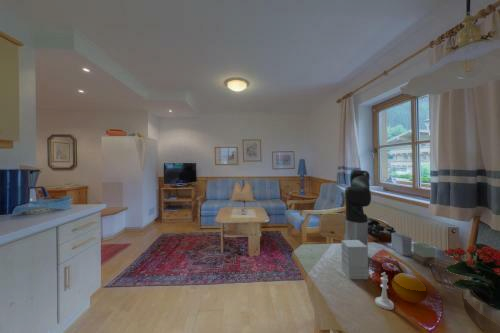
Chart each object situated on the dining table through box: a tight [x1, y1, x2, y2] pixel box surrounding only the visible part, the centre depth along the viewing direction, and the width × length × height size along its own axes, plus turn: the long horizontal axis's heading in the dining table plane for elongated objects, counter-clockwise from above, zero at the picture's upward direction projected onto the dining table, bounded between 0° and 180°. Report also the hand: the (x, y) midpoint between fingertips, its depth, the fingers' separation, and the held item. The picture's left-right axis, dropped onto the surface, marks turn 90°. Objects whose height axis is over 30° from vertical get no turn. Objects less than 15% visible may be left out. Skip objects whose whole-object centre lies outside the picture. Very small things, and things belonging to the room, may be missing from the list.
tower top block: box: [413, 242, 436, 258], centre depth 88 cm, size 5×5×4 cm
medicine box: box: [390, 232, 413, 257], centre depth 99 cm, size 8×4×9 cm, turn 179°
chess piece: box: [374, 271, 395, 310], centre depth 63 cm, size 5×5×10 cm
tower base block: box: [413, 251, 436, 267], centre depth 88 cm, size 5×5×4 cm
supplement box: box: [340, 239, 369, 280], centre depth 80 cm, size 7×7×13 cm
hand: (387, 233), depth 110 cm, fingers open, 8 cm apart
